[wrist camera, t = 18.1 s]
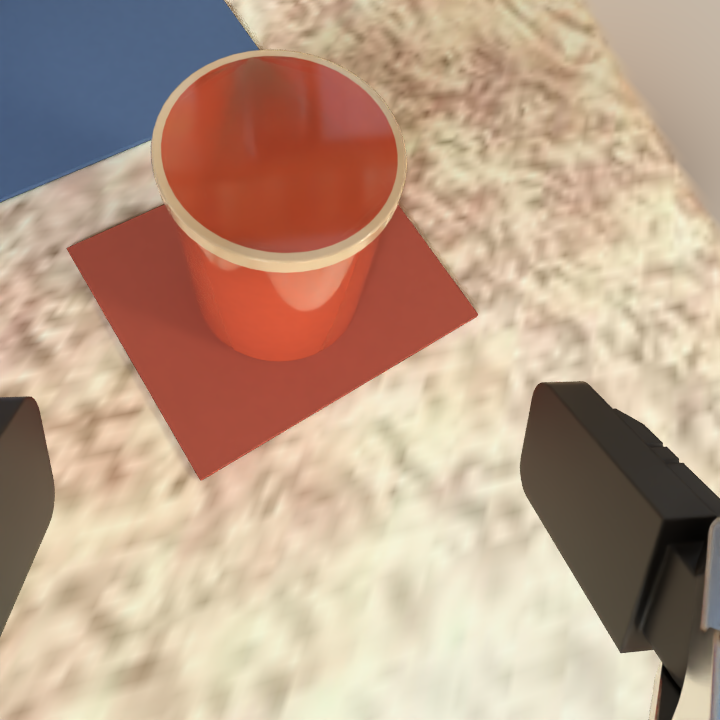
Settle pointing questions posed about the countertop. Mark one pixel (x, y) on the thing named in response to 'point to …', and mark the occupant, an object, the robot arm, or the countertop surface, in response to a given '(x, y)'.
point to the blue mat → (96, 77)
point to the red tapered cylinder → (278, 195)
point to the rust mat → (247, 374)
